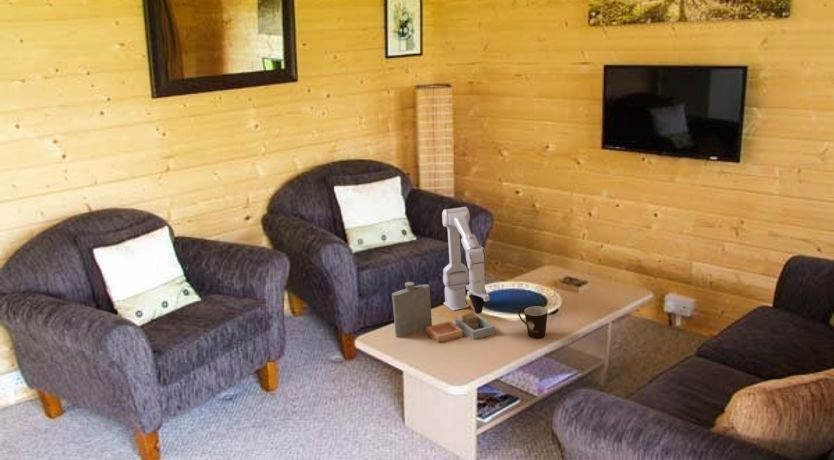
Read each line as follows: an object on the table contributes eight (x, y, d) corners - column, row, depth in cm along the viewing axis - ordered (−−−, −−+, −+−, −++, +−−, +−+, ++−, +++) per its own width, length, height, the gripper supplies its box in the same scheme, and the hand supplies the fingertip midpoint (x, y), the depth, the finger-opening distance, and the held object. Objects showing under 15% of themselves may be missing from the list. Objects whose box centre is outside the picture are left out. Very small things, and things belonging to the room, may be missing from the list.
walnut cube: (462, 325, 301) (461, 315, 300) (472, 323, 303) (472, 312, 301) (467, 329, 297) (467, 319, 296) (478, 327, 299) (477, 316, 297)
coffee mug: (552, 337, 285) (552, 312, 282) (532, 342, 282) (531, 317, 279) (536, 325, 296) (536, 301, 293) (517, 330, 293) (516, 306, 290)
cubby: (455, 325, 301) (455, 318, 300) (476, 320, 305) (476, 313, 304) (473, 339, 288) (473, 332, 287) (495, 333, 292) (494, 326, 291)
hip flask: (397, 338, 294) (393, 289, 288) (393, 334, 297) (388, 286, 291) (433, 327, 301) (430, 279, 295) (428, 324, 304) (425, 277, 298)
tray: (426, 332, 296) (426, 327, 296) (450, 326, 300) (450, 320, 300) (438, 342, 287) (437, 336, 287) (462, 336, 291) (462, 330, 291)
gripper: (458, 275, 291) (460, 308, 296) (476, 287, 279) (478, 321, 283) (474, 271, 294) (476, 304, 298) (493, 283, 281) (495, 317, 285)
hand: (478, 312), depth 291 cm, fingers closed
